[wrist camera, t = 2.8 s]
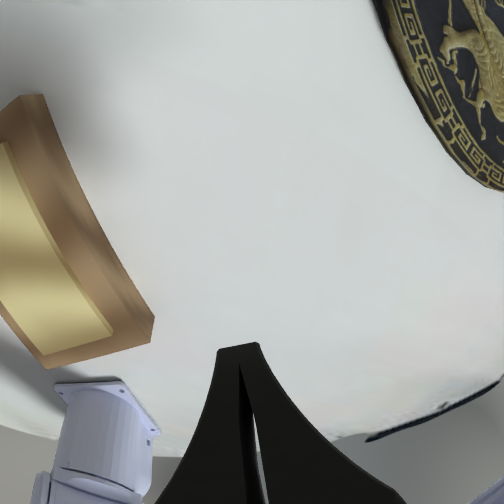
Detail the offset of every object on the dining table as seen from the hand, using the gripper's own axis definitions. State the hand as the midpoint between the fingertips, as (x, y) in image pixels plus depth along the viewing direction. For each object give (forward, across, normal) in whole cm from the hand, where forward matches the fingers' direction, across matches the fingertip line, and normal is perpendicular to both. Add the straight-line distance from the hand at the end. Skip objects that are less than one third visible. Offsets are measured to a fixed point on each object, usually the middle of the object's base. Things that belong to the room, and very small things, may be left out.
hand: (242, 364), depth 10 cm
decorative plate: (+10, -26, -15) cm, 32 cm away
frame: (+10, +12, -3) cm, 16 cm away
